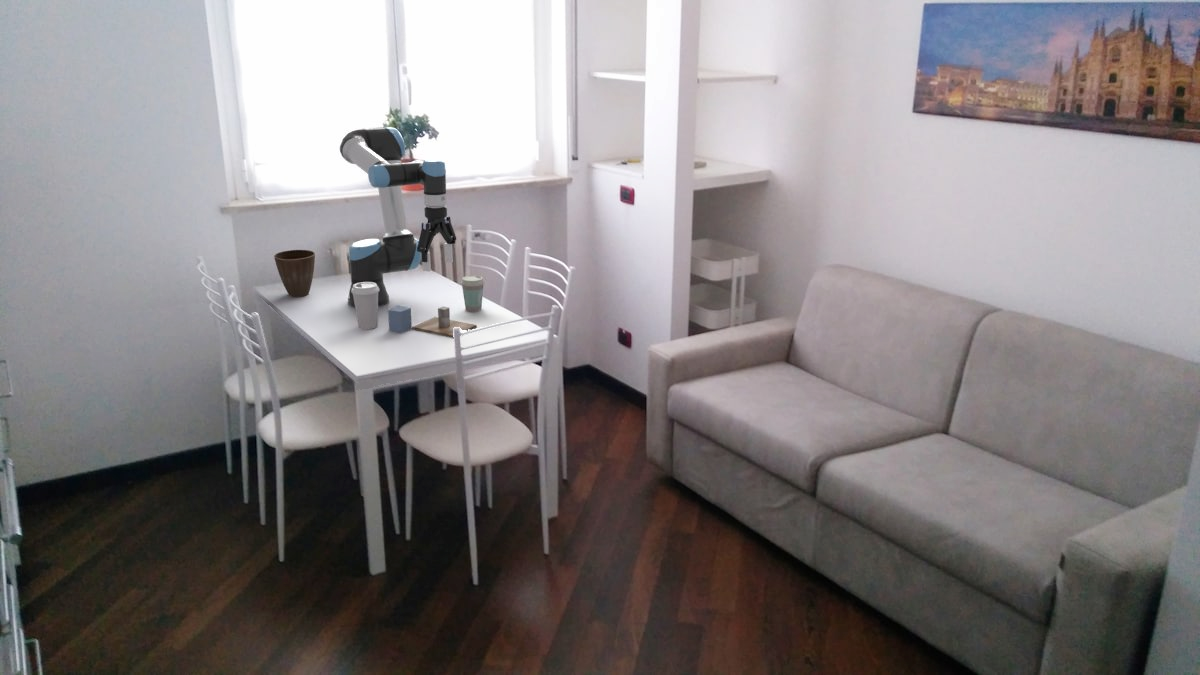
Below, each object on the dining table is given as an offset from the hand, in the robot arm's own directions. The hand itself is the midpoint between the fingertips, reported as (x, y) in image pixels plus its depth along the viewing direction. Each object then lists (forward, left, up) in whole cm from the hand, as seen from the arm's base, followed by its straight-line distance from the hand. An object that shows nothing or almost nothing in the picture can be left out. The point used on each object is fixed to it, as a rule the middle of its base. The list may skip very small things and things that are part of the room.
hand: (438, 266), depth 319 cm
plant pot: (-68, 0, -21) cm, 71 cm away
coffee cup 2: (+1, +19, -21) cm, 28 cm away
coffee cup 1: (-19, -16, -21) cm, 33 cm away
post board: (+5, -4, -21) cm, 22 cm away
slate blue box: (-7, -13, -21) cm, 25 cm away
